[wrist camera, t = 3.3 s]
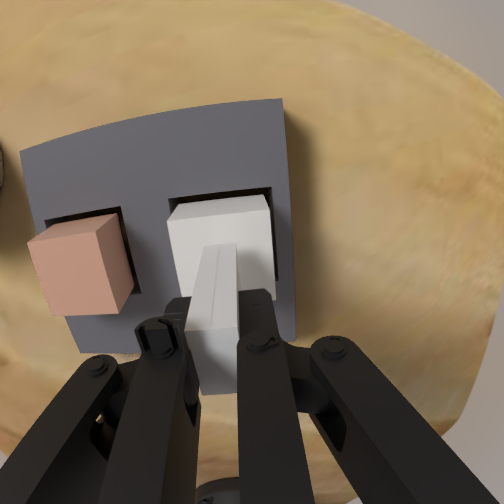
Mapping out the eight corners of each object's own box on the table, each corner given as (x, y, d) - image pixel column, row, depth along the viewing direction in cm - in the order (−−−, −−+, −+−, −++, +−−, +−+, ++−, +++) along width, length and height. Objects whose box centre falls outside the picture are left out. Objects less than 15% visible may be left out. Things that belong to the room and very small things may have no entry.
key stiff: (134, 285, 20) (118, 313, 17) (73, 290, 20) (52, 316, 17) (117, 213, 18) (95, 231, 15) (54, 224, 18) (26, 242, 15)
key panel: (289, 317, 25) (296, 340, 22) (92, 331, 25) (80, 353, 22) (275, 102, 19) (282, 98, 16) (42, 146, 18) (19, 151, 16)
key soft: (269, 271, 20) (276, 299, 17) (191, 279, 20) (184, 308, 17) (263, 194, 18) (269, 209, 15) (178, 204, 18) (166, 221, 15)
